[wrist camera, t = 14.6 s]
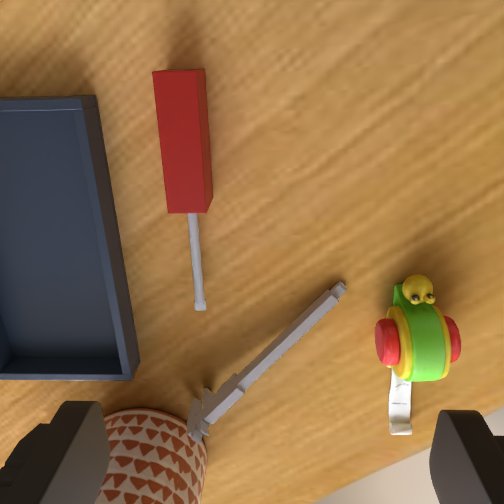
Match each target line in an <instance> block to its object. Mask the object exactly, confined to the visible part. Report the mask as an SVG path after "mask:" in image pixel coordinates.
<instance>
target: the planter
mask: <svg viewBox="0 0 504 504" xmlns="http://www.w3.org/2000/svg"><path fill="white" fill-rule="evenodd" d="M104 421H105V426H106V431H107V435H108V440H109V444H110V461H109V466H108V470H107V473H106V476H105V479H104V481H103V484H102V486H101V489H100V491H99V494H98V496H97V498H96V501H95V503H94V504H201V497H202V491H203V485H204V479H205V473H206V466H207V453H206V449H205V446H204V443H203V441H202V440H201V442H200V444H197V443H196V442H194V441H193V440H192V439H191V437H190V436H188V435H187V423H185V422H184V421H182V420H181V419H179V418H177V417H175V416H173V415H171V414H168V413H165V412H162V411H158V410H153V409H146V408H133V409H125V410H121V411H117V412H114V413H112V414H110V415H108V416H106V417H104Z"/></svg>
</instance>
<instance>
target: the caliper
mask: <svg viewBox="0 0 504 504" xmlns="http://www.w3.org/2000/svg"><path fill="white" fill-rule="evenodd" d="M346 290H347V287H346V286H345V285H344V284H343V283H342V282H341V281H339V282H338V283H337V284H336V285H335V286H334V287H333V288H332V289H331V290H330V291H329V290H328V289H327V290H326V291H325V292H324V293H323V294H322V295H321V296H320V297H319V298H318V299H316V300H315V301H314V302H313V303H312V304H311V305H310V306H309V307H308V308H307V309H306V310H305V311H304V312H303V313H302V314H301V315H300V316H299V317H298V318H297V319H296V320H295V321H294V322H293V323H292V324H290V325H289V326H288V327H287V328H286V329H285V330H284V331H283V332H282V333H281V334H280V335H279V336H278V337H277V338H276V339H275V340H274V341H273V342H272V343H271V344H270V345H269V346H267V347H266V348H265V349H264V350H263V351H262V352H261V353H260V354H259V355H258V356H257V357H256V358H255V359H254V360H253V361H252V362H251V363H250V364H249V365H248V366H246V367H245V368H244V369H243V370H242V371H241V372H240V373H239V374H238V375H237V374H236V373H234V374H233V375H232V376H231V377H230V378H229V380H228V381H226V382H225V383H224V384H223V385H222V386H221V387H220V389H219V390H218V391H217V393H216V394H215V395H214V393H213V392H211V391H210V390H209V389H207V388H204V390H203V392H204V394H203V405H204V408H203V409H202V402H201V401H199V400H198V399H197V398H194V399H193V401H192V403H191V407H190V411H189V415H188V420H187V435H188V436H190V437H191V439H192V440H193V441H194V442H196V443H197V444H200V442H201V440H202V436H203V433H204V434H205V435H206V436H208V435H209V430H208V427H209V424H211V425H212V424H213V423H215V422H216V421H217V420H218V419H219V418H220V417H221V416H222V415H223V414H224V413H225V412H226V411H227V410H228V409H229V408H230V407H231V406H232V405H233V404H234V403H235V402H236V401H238V400H239V399H240V398H241V397H242V396H243V395H244V393H245V390H246V389H247V388H248V387H249V386H250V385H251V384H252V383H253V382H254V381H255V380H256V379H258V378H259V377H260V376H261V375H262V374H263V373H264V372H265V371H266V370H267V369H268V368H269V367H270V366H271V365H272V364H273V363H275V362H276V361H277V360H278V359H279V358H280V357H281V356H282V355H283V354H284V353H285V352H286V351H287V350H288V349H289V348H290V347H292V346H293V345H294V344H295V343H296V342H297V341H298V340H299V339H300V338H301V337H302V336H303V335H304V334H305V333H306V332H307V331H308V330H310V329H311V328H312V327H313V326H314V325H315V324H316V323H317V322H318V321H319V320H320V319H321V318H322V317H323V316H324V315H325V314H326V313H327V312H329V311H330V310H331V309H332V308H333V307H334V306H335V305H336V304H337V303H338V302H339V300H338V298H339V297H341V296H342V295H343V294H344V293H345V292H346Z"/></svg>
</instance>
